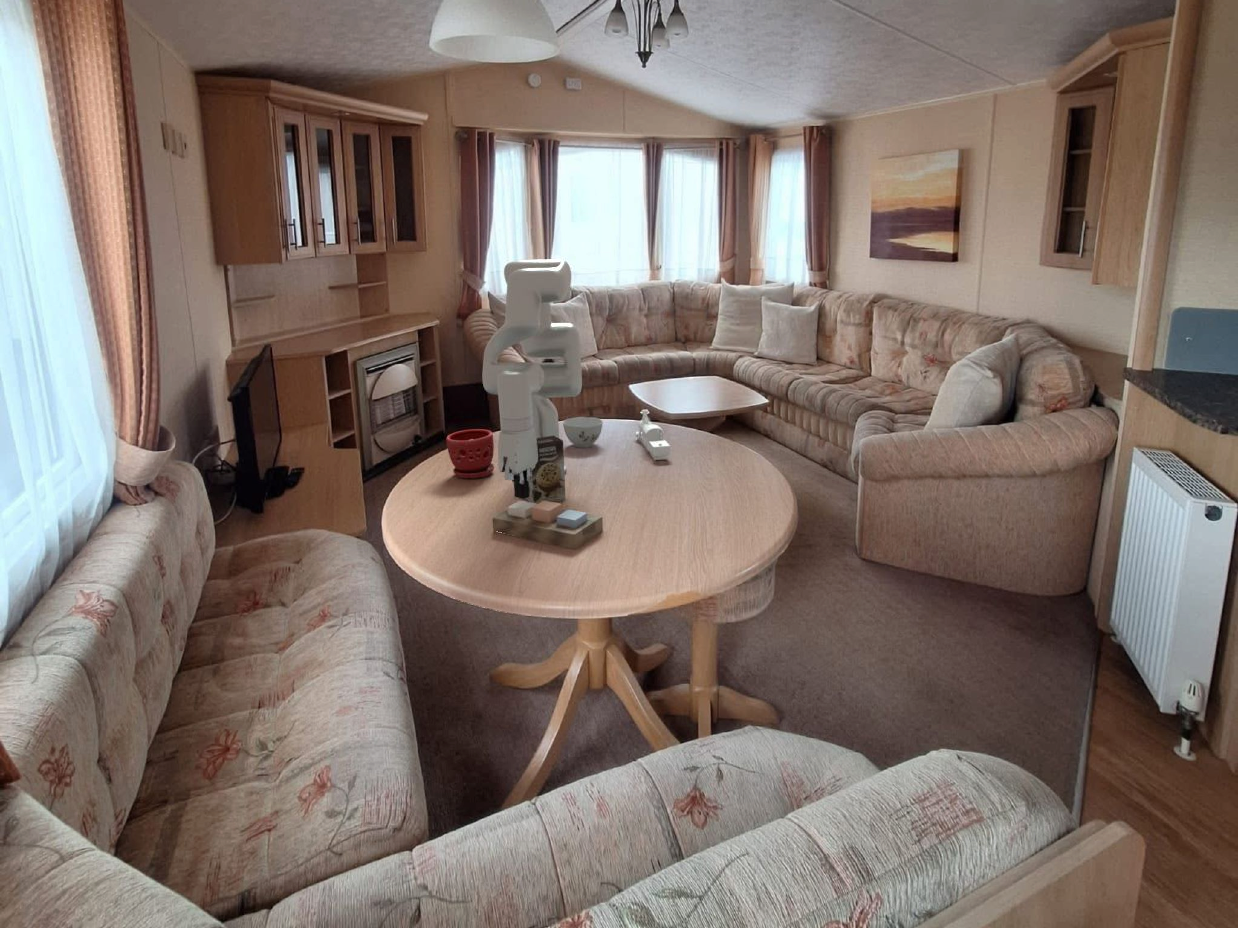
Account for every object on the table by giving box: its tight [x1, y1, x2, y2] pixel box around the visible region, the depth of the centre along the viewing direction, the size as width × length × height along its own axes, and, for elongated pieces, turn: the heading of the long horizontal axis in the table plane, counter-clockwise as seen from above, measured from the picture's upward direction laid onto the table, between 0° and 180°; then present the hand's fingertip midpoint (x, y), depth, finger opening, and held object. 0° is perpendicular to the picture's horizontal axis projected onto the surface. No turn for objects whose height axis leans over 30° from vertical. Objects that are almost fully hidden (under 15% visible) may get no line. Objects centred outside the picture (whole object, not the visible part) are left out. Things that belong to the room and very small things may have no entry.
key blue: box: [557, 509, 588, 528], centre depth 187 cm, size 5×5×4 cm
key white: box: [507, 500, 537, 518], centre depth 194 cm, size 5×5×4 cm
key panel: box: [491, 508, 604, 550], centre depth 191 cm, size 23×12×4 cm, turn 60°
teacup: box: [562, 416, 604, 448], centre depth 259 cm, size 15×12×8 cm
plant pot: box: [445, 428, 495, 479], centre depth 232 cm, size 13×13×12 cm
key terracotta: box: [531, 501, 563, 523], centre depth 190 cm, size 5×5×4 cm
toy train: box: [634, 409, 671, 461], centre depth 253 cm, size 6×30×10 cm, turn 10°
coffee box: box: [525, 436, 567, 504], centre depth 210 cm, size 9×6×16 cm
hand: (522, 497), depth 193 cm, fingers closed
